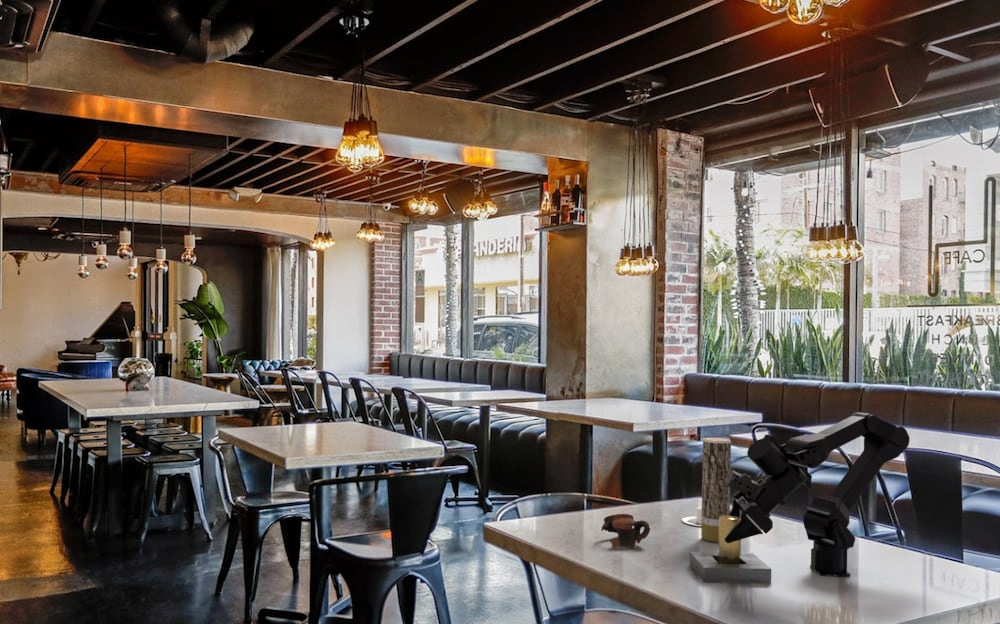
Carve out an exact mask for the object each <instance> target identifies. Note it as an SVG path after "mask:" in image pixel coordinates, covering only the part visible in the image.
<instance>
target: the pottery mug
mask: <svg viewBox="0 0 1000 624" xmlns="http://www.w3.org/2000/svg"><path fill="white" fill-rule="evenodd" d="M642 528H643V531H642V532H641V529H642ZM600 531H601V532H603V531H606V532H608V533H616V534H617V536H616V537H612V538H610V542H611V547H612V546H613V547H615V548H621V547H624V548H633V547H635V548H636V543H637V544H640V543H641V541H642V540H644V539H646V538H648V535H649V534H650V531H651V528H650V525H649V523H648V522H647V521H645V520H637V521H636V520H634V516H633V515H632V514H629V513H617V514H611V515H608V516H606V517H604V518H603V525H602V526H601V530H600ZM613 547H612V548H613Z"/></svg>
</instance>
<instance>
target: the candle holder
mask: <svg viewBox="0 0 1000 624" xmlns="http://www.w3.org/2000/svg"><path fill="white" fill-rule="evenodd" d="M691 519H692V520H696V524H695V523H692V522H689V521H691ZM681 521H682V522H683V523H685V524H687V525H691V526H695V527H701V526H702V506H698V507H697V508H696V516H686V517H683V518H681ZM698 523H699V524H698Z"/></svg>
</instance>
